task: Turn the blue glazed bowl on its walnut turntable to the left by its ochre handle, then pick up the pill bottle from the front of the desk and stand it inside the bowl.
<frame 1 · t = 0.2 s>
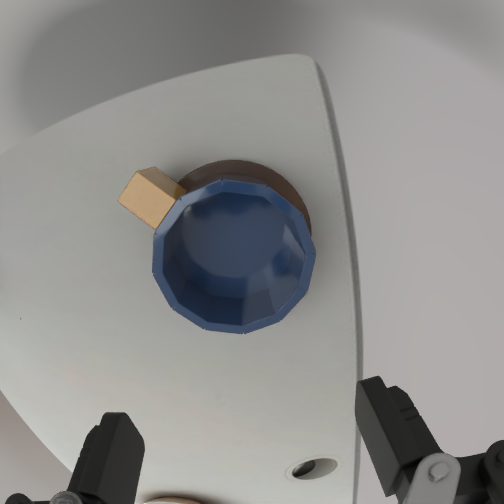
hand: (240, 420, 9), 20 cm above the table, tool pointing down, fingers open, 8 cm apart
serving bowl: (215, 238, 24), point 4 cm above the table, hinge at 0.0°
turntable: (233, 236, 28), on the table
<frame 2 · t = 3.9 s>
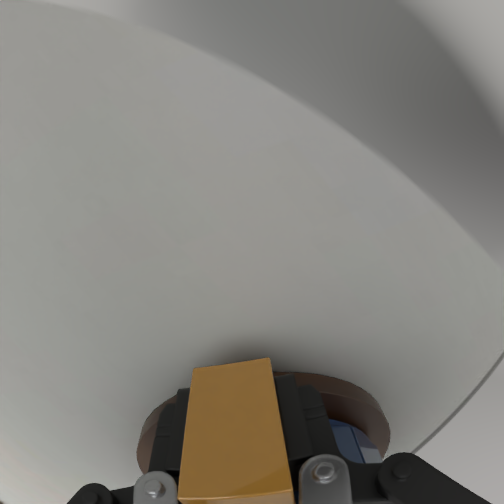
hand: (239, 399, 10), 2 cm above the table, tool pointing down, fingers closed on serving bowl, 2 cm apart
turntable: (264, 457, 15), on the table
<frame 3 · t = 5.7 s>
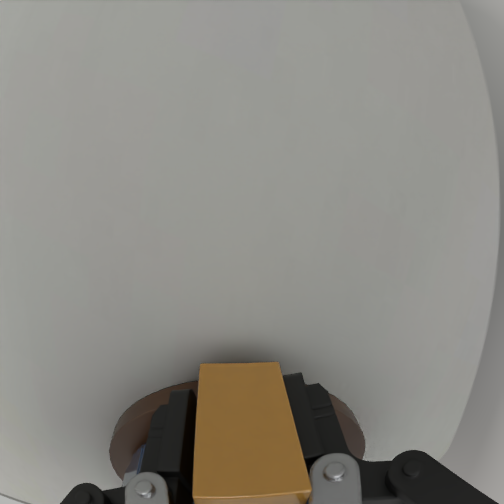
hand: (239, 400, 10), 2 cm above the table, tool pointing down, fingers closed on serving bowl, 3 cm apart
turntable: (237, 462, 14), on the table
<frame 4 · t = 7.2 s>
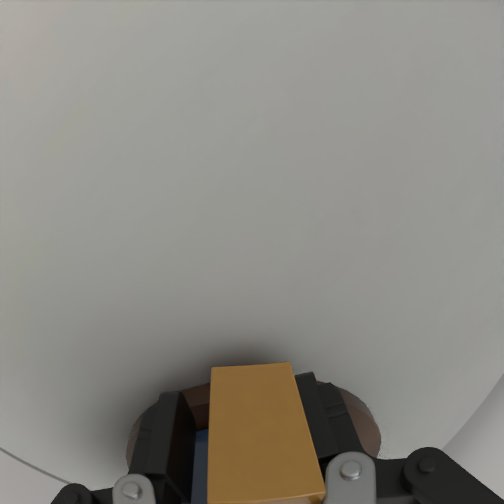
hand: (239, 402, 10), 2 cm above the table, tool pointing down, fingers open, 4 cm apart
turntable: (254, 461, 14), on the table
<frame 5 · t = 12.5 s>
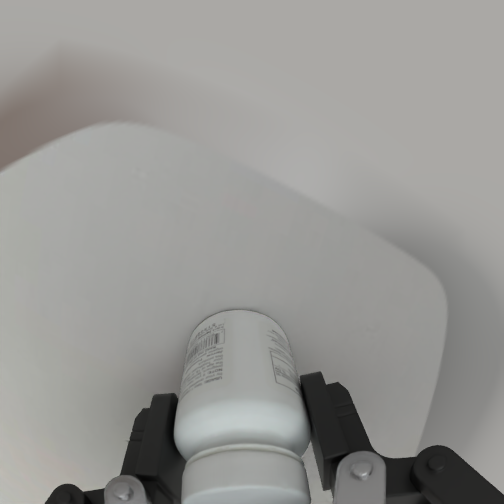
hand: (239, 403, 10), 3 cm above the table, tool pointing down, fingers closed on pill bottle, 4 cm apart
pill bottle: (238, 346, 13), on the table, touching gripper
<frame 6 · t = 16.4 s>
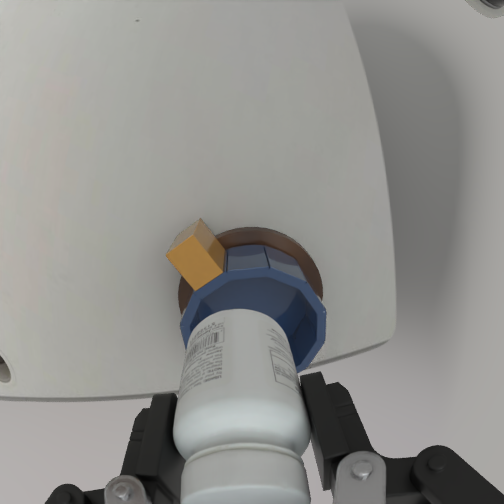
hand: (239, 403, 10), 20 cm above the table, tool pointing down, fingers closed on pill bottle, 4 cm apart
serving bowl: (241, 303, 26), point 4 cm above the table, hinge at 72.4°
pill bottle: (238, 346, 13), point 16 cm above the table, touching gripper
turntable: (250, 295, 31), on the table
when the fingers open (6 cm above the table, at t = 20.3 s): pill bottle stays where it is, resting on serving bowl.
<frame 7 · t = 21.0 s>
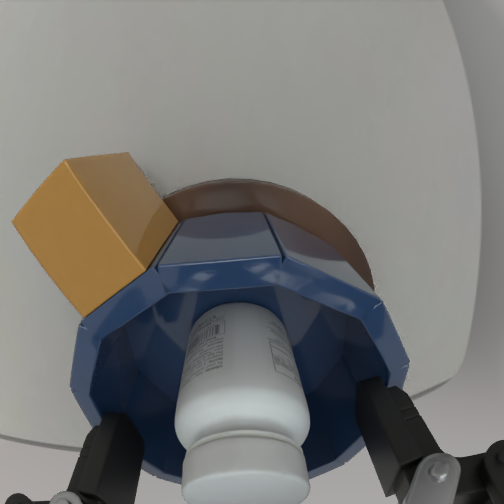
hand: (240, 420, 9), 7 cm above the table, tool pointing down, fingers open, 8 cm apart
serving bowl: (211, 343, 11), point 4 cm above the table, hinge at 72.4°, touching pill bottle
pill bottle: (238, 339, 14), point 2 cm above the table, touching serving bowl
turntable: (236, 318, 16), on the table
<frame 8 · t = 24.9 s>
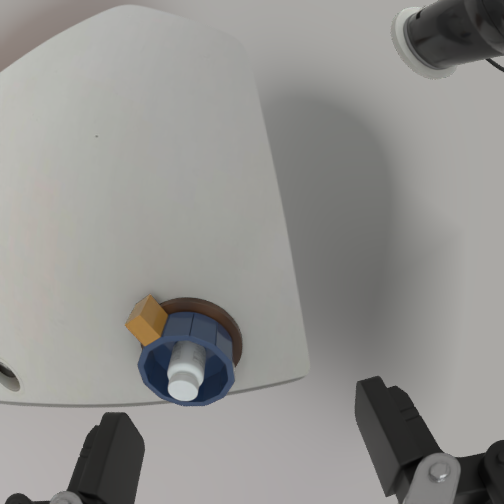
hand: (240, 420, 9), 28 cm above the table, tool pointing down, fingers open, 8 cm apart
serving bowl: (178, 351, 36), point 4 cm above the table, hinge at 72.4°, touching pill bottle
pill bottle: (189, 350, 39), point 2 cm above the table, touching serving bowl
turntable: (191, 342, 41), on the table
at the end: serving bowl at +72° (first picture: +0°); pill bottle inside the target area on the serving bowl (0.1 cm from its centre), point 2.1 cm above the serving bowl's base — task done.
